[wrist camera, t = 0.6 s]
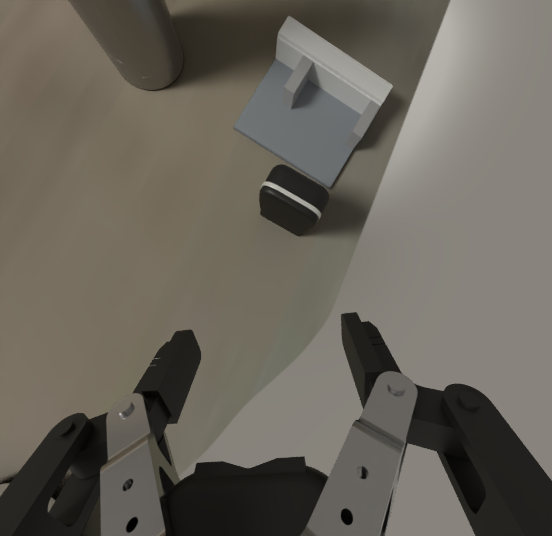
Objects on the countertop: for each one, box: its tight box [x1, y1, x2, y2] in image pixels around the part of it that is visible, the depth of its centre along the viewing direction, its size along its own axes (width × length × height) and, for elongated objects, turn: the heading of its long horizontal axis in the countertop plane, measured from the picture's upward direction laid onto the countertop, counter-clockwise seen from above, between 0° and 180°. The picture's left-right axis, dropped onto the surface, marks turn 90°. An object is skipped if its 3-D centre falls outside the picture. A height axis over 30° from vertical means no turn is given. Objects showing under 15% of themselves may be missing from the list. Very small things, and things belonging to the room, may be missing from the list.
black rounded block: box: [259, 164, 329, 236], centre depth 28 cm, size 7×4×11 cm, turn 61°
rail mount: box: [234, 16, 393, 189], centre depth 32 cm, size 16×14×4 cm
